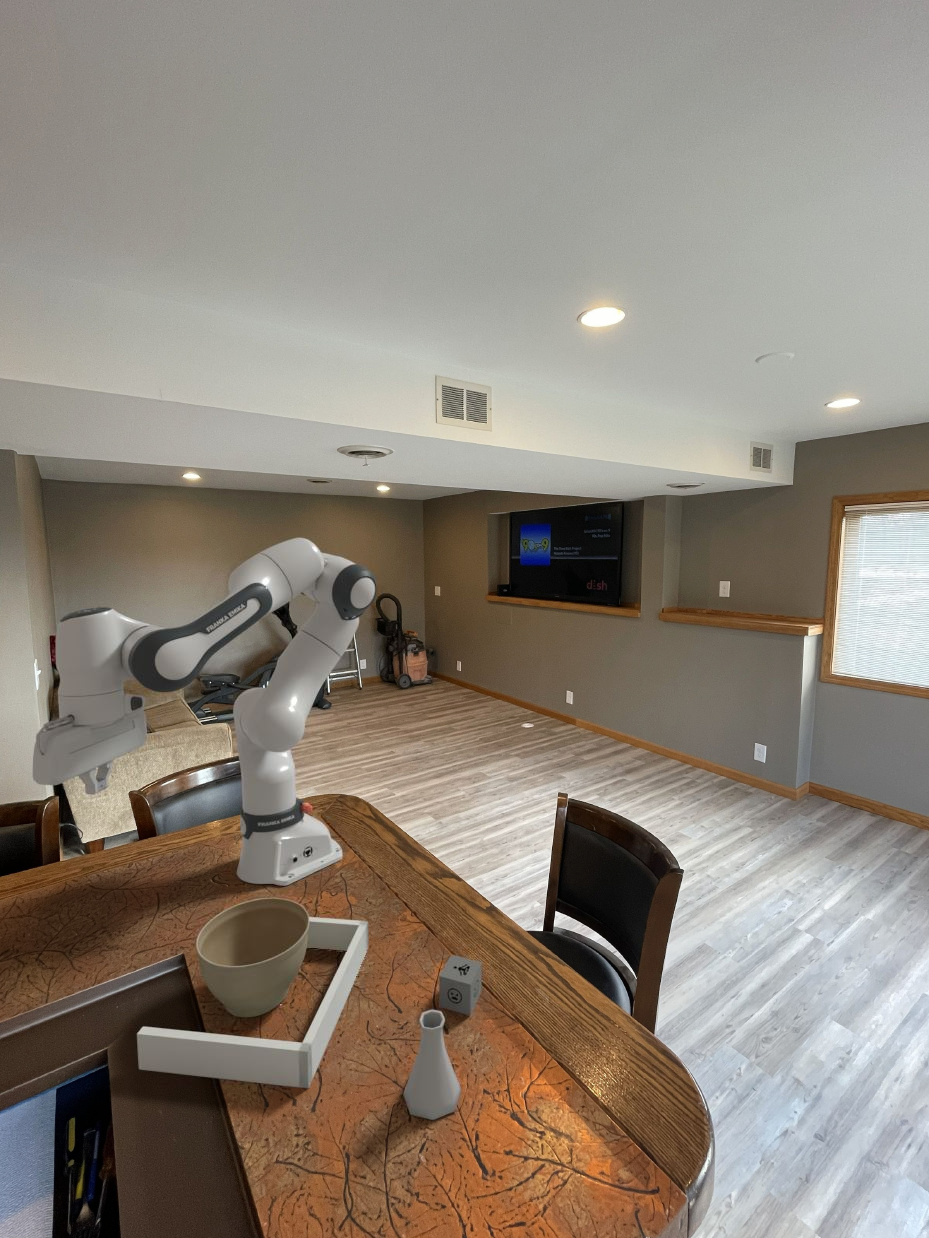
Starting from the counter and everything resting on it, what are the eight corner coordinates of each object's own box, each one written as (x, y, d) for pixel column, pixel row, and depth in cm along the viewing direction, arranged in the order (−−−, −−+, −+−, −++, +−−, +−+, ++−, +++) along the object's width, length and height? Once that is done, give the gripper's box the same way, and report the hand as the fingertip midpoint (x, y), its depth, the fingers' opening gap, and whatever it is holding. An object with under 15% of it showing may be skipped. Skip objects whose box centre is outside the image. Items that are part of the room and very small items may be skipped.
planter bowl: (176, 1007, 84) (173, 938, 83) (267, 946, 97) (265, 887, 97) (243, 1057, 75) (240, 981, 74) (332, 983, 89) (331, 918, 88)
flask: (403, 1070, 73) (403, 998, 73) (459, 1066, 74) (458, 995, 73) (402, 1124, 66) (401, 1045, 65) (463, 1119, 67) (463, 1041, 66)
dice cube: (470, 1016, 82) (470, 984, 82) (439, 1007, 84) (439, 975, 84) (481, 992, 87) (481, 962, 87) (451, 984, 89) (451, 954, 88)
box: (138, 1069, 73) (136, 1033, 73) (241, 938, 100) (240, 911, 99) (308, 1088, 71) (307, 1051, 70) (368, 948, 97) (368, 921, 96)
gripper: (56, 726, 80) (62, 819, 81) (152, 695, 100) (155, 770, 101) (16, 725, 81) (23, 817, 82) (119, 694, 101) (123, 768, 102)
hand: (97, 791), depth 92 cm, fingers closed
